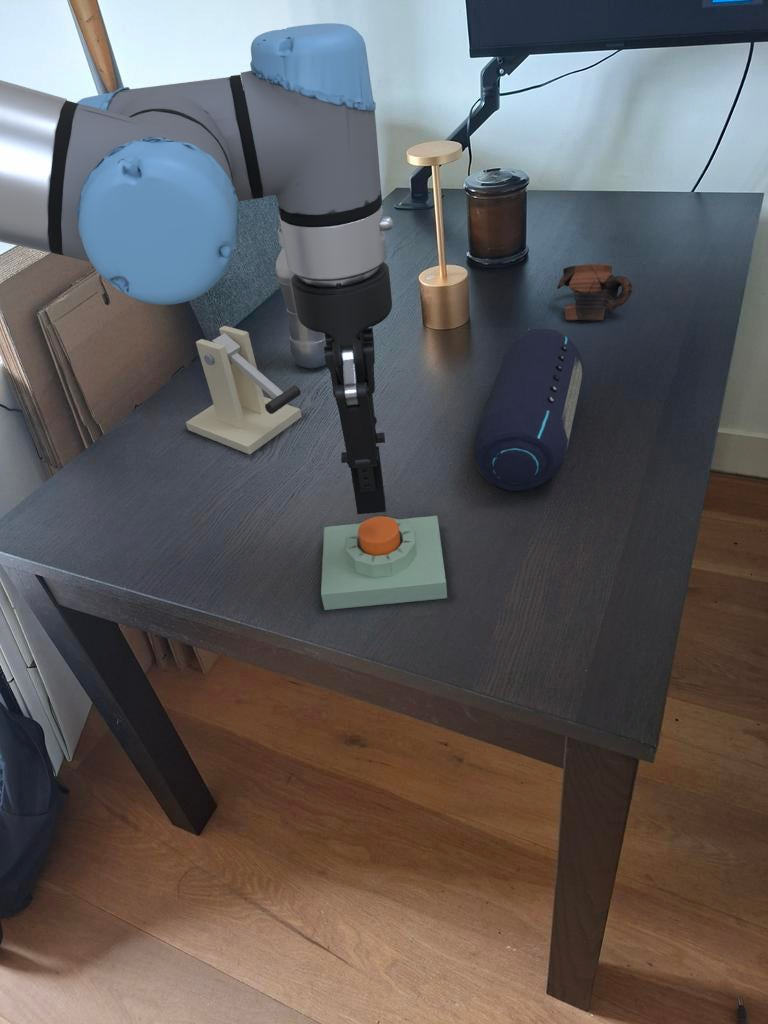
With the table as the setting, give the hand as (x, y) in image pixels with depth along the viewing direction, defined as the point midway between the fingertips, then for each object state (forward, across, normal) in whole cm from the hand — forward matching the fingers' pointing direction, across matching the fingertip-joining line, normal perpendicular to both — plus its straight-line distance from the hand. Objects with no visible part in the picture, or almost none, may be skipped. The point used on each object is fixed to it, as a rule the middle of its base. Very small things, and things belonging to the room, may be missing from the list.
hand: (371, 508), depth 72 cm
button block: (+8, 0, 0) cm, 8 cm away
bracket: (+8, +31, +18) cm, 37 cm away
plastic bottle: (+8, +46, +8) cm, 48 cm away
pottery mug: (+8, +53, -34) cm, 64 cm away
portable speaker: (+8, +20, -19) cm, 29 cm away
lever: (+1, +29, +15) cm, 32 cm away
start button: (+5, 0, 0) cm, 5 cm away
